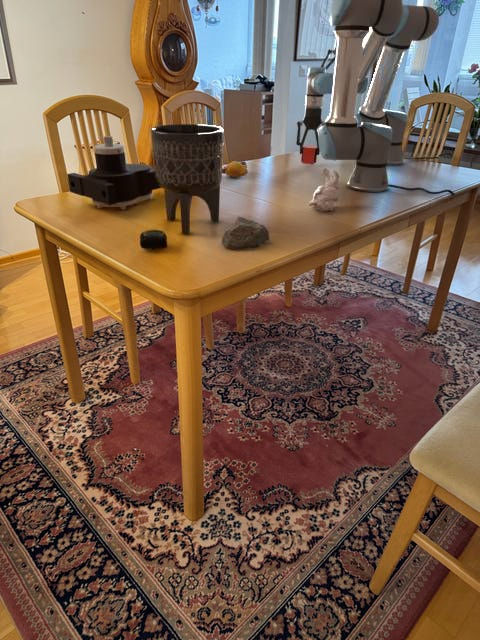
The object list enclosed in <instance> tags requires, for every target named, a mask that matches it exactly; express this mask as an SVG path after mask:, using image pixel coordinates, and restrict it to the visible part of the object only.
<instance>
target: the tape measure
mask: <svg viewBox="0 0 480 640" xmlns="http://www.w3.org/2000/svg"><path fill="white" fill-rule="evenodd" d="M167 236H168V235H167V234H166V232H165V231H164V230H161V229H147V230H144V231H143V232H141V233H140V235H139V240H140V241H139V245H140V246H139V247H141V248H142V249H146V250H157V249H167V248H168V240H167V239H168V237H167Z"/></svg>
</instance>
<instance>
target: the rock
mask: <svg viewBox="0 0 480 640" xmlns="http://www.w3.org/2000/svg"><path fill="white" fill-rule="evenodd" d="M269 241H270V233H269V230H268V229H267V228H266V226H265V225H263V224H261V223H259V222H256V221H255V220H252V219H247V218H245V217H241V216H238V217H237V218H236V219H235V221H234V222H233V223H232V224H231V225H229V226H228V227H227V228H226V229H225V231H224V233H223V236H222V239H221V244H222V247H224V248H229V249H231V250H245V249H254V248H257V247H259V246H260V245H264V244H266V242H269Z"/></svg>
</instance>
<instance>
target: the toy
mask: <svg viewBox="0 0 480 640" xmlns="http://www.w3.org/2000/svg"><path fill="white" fill-rule="evenodd" d="M248 172H249V170H248V165H247V162H246V161H241V162H239V161H237V160H235V161H231V162H229V163H226V165H225V166H223V167H222V175H223V174H224V175H227V176H229V177H232V178H241V177H243V176H246V175H247V174H248Z"/></svg>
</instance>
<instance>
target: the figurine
mask: <svg viewBox="0 0 480 640" xmlns="http://www.w3.org/2000/svg"><path fill="white" fill-rule="evenodd" d="M332 173H333V176H332V177H331V173H330V170H329V169H328V168H326V167H324V168H323V169H322V175H323V177H324V179H325V184H324V185H320V186H318V187H317V188H316V190H315V191H314V193H313V195H312V196H313V197H312V199H311V201H310V202H309V203H308V206H309V207H312V208H313V209H321V210H324V211H334V209H333V207H334V205H335V203H337V202H338V201H339V198H340V197H339V195H340V193H339V192H338V189H339V187H340V185H339V182H340V181H339V179H340V174H339V172H337V171H336V169H334V168H332Z"/></svg>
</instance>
